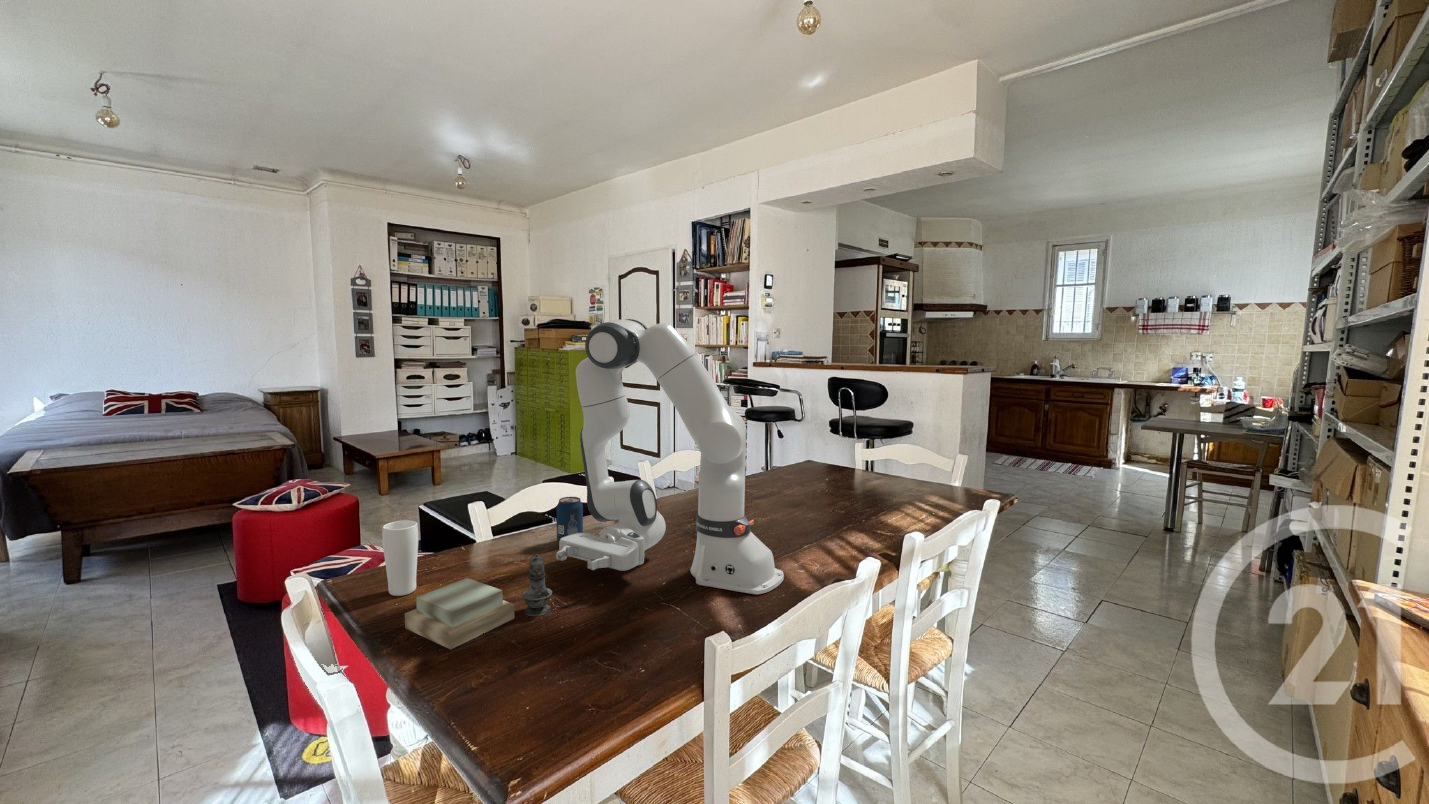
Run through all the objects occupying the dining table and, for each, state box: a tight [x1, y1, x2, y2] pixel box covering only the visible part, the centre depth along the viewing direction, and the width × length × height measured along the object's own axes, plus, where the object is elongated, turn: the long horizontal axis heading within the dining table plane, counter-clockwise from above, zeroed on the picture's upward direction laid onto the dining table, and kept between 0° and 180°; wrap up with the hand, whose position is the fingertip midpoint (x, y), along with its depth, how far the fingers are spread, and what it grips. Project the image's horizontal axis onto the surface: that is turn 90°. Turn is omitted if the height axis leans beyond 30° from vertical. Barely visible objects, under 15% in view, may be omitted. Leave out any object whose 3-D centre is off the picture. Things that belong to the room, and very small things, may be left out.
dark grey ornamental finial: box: [521, 553, 553, 617], centre depth 119 cm, size 6×6×12 cm
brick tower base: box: [404, 577, 515, 650], centre depth 113 cm, size 14×14×6 cm
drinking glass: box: [382, 519, 419, 597], centre depth 126 cm, size 7×7×15 cm
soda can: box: [556, 496, 584, 542], centre depth 159 cm, size 7×7×12 cm
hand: (573, 561), depth 128 cm, fingers open, 8 cm apart
